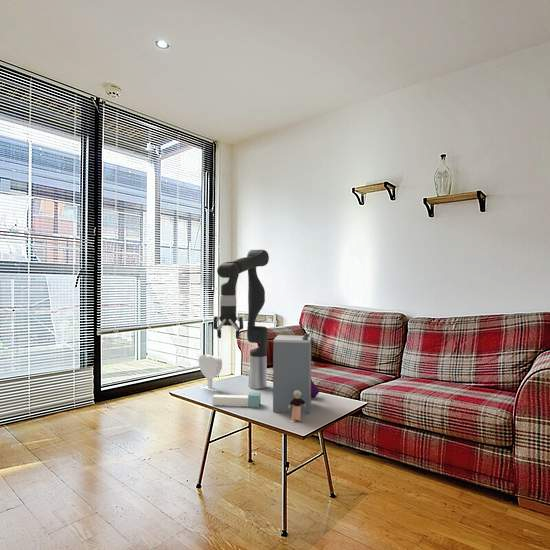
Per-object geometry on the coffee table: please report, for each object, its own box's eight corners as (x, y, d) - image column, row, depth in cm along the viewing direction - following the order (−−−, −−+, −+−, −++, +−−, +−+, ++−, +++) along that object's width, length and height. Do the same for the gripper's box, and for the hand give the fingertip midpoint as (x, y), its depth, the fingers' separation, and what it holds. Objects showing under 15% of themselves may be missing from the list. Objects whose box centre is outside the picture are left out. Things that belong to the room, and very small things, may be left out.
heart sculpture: (222, 390, 215) (223, 356, 215) (215, 392, 211) (215, 357, 212) (204, 385, 226) (204, 352, 226) (197, 387, 222) (197, 354, 222)
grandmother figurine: (291, 423, 166) (291, 392, 166) (287, 420, 170) (287, 389, 170) (307, 420, 169) (307, 390, 170) (303, 417, 173) (303, 388, 173)
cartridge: (211, 406, 189) (212, 394, 189) (214, 402, 194) (214, 390, 194) (258, 407, 187) (259, 395, 187) (260, 404, 192) (260, 392, 192)
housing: (272, 411, 180) (273, 337, 181) (277, 401, 196) (278, 332, 197) (309, 413, 178) (309, 337, 179) (310, 403, 194) (311, 333, 195)
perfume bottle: (299, 397, 204) (299, 361, 204) (308, 394, 209) (308, 359, 209) (311, 400, 199) (311, 363, 199) (320, 397, 204) (320, 361, 204)
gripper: (244, 304, 198) (244, 337, 198) (216, 303, 200) (216, 336, 201) (240, 305, 191) (240, 339, 191) (211, 305, 193) (211, 339, 193)
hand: (228, 338), depth 196 cm, fingers open, 8 cm apart
